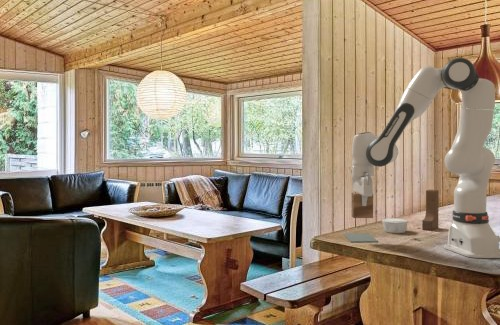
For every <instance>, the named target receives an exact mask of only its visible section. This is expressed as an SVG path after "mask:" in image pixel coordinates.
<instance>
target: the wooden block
mask: <svg viewBox="0 0 500 325" xmlns="http://www.w3.org/2000/svg"><path fill="white" fill-rule="evenodd" d="M439 194H440V193H439V190H438V189H427V190H425V216H424V218H423V219H422V220H421V221H422V222H421V224H422V225H421V227H422V228H421V229H422V230H423V231H430V230H431V231H434V230H437V229H438V228H439Z"/></svg>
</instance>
